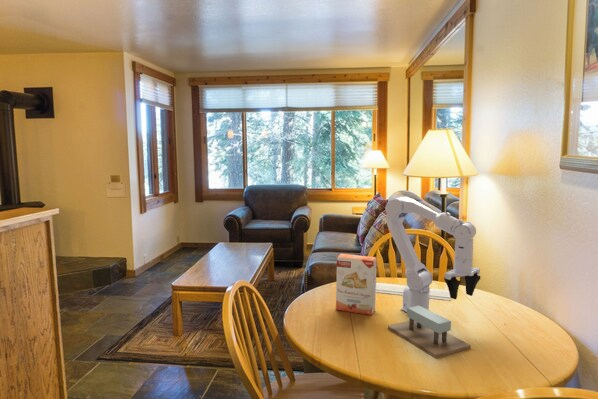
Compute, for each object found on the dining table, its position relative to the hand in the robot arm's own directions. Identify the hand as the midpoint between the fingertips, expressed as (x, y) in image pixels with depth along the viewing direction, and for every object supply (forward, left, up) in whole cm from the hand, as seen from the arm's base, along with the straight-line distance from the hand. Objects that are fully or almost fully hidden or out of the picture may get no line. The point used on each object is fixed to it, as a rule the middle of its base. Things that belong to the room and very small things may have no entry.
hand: (461, 296), depth 138 cm
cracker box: (-26, -26, -10) cm, 38 cm away
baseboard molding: (-32, +6, -11) cm, 34 cm away
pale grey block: (+3, -18, -5) cm, 19 cm away
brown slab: (+3, -18, -10) cm, 21 cm away
